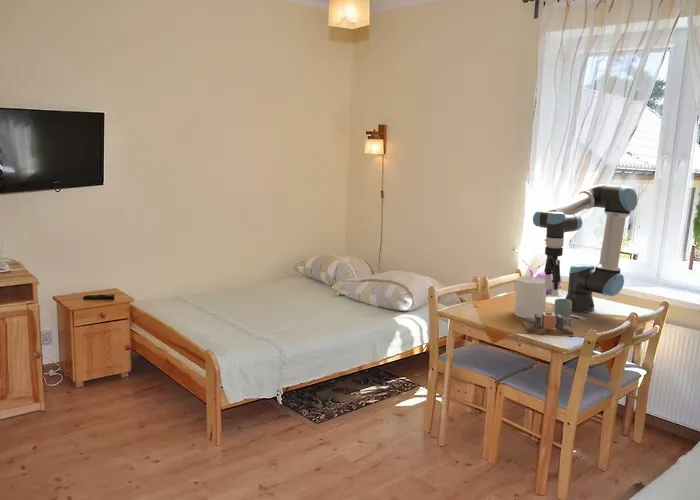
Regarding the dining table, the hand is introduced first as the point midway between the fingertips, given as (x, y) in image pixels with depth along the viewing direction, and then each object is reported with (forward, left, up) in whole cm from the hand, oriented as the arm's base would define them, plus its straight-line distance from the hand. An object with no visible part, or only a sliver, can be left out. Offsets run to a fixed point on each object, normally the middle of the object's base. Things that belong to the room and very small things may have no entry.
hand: (550, 292), depth 279 cm
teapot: (-13, -71, -18) cm, 75 cm away
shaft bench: (0, 0, -18) cm, 18 cm away
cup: (-10, -15, -18) cm, 25 cm away
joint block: (0, 0, -16) cm, 16 cm away
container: (+4, -23, -18) cm, 30 cm away
